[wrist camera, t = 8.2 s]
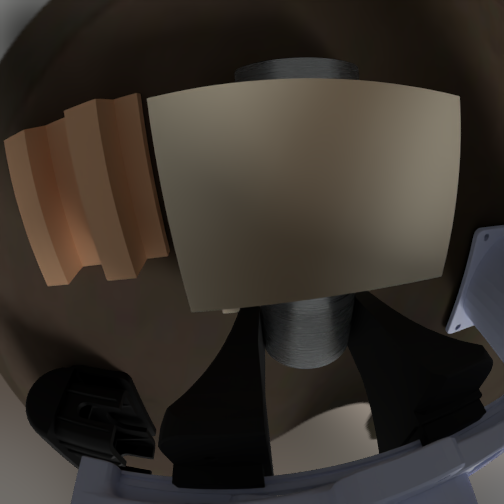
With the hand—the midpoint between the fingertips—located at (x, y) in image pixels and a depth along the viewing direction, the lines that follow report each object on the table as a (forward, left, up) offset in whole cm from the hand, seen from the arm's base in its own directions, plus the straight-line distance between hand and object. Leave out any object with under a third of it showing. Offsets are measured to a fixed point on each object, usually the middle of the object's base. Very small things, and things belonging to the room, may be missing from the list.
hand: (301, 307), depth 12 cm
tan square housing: (0, -4, -2) cm, 4 cm away
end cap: (+15, +10, -2) cm, 18 cm away
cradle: (+9, -6, -2) cm, 11 cm away
